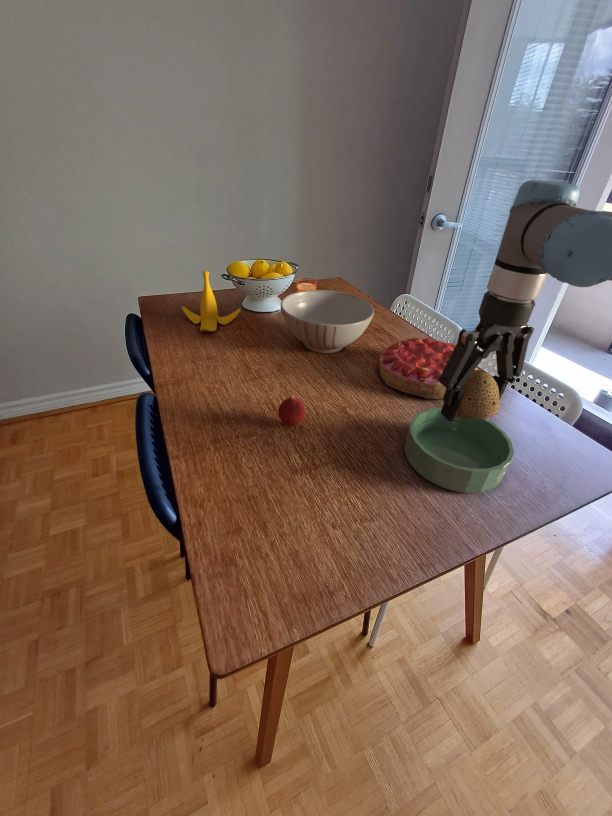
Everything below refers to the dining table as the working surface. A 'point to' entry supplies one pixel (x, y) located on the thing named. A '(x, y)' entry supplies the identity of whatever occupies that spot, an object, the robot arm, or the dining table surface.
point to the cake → (416, 366)
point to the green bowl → (458, 451)
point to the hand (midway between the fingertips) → (468, 412)
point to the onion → (291, 411)
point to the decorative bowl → (326, 318)
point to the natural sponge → (479, 397)
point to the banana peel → (208, 309)
